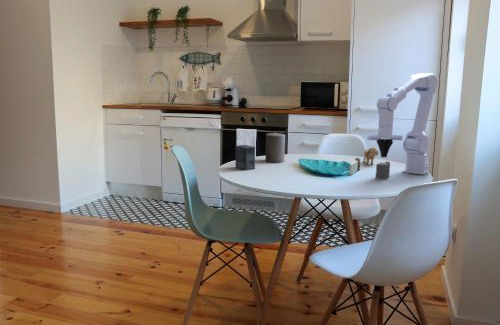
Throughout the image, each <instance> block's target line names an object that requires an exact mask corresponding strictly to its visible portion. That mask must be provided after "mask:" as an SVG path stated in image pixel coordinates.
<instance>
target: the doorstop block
mask: <svg viewBox="0 0 500 325" xmlns="http://www.w3.org/2000/svg"><path fill="white" fill-rule="evenodd" d="M390 170H391V163H390V164H389V163H385V162H379V163H376V168H375V179H380V180H386V179H389V178H390Z"/></svg>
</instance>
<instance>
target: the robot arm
mask: <svg viewBox="0 0 500 325" xmlns="http://www.w3.org/2000/svg"><path fill="white" fill-rule="evenodd" d="M438 80H439V79H437V75H436V74H435V73H413V74H412V75H410V76H409V80H407V81H406V82H405V83H404V84H403V85H402V86H395V87H394V88H393V90H391V91H390V92H388V93H387V94H386V95H385V96H383V95H382V96H381V97H379V98H378V100H377V102H376V107H377V113H378V114H379V115H378V130H377V133H378V134H370V135H367V136H366V137H367V141H376V143H377V146H378V148H379V154H380V157H381V158H387V156H388V153H389V151H390V149H391V148H392V145H393V144H394V141H403V142H402V148H403V150H405V153H406V156H405V169H403V170H401V172H402V173H408V174H415V175H423V176H424V175H426V174H427V173H429V163H430V155H429V154H427V153H426V152H427V151H428V149H429V141H430V137H429V136H428V135H427V133H426V128H427V125H428V119H429V116H430V111H431V108H432V104H433V99H434V94H436V91H437V90H436V89H437V85H438ZM413 90H414V91H415V92H416V93H417V94H418V95H419V100H418V105H417V109H416V114H415V118H414V121H413V126H412V129H411V131H409V132H408V133H406V136H405V138H404V140H403V137H404V136H403V135H401V134H399V135H397V134H395V135H394V134H393V129H394V128H393V126H394V125H393V124H394V113H395V112H394V111H395V110H396V109H397V107H398V105H399V103H401V102H402V101H403V100H404V99H405V98H407V94H409V93H410V92H411V91H413Z"/></svg>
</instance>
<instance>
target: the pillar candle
mask: <svg viewBox="0 0 500 325" xmlns="http://www.w3.org/2000/svg"><path fill="white" fill-rule="evenodd" d="M285 154H286V134H284V133H277V132H276V131H274V133H273V132H272V133H271V132H270V133H269V132H268V133H266V134H265V162H266V163H271V164H282V163H284V162H285Z"/></svg>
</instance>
